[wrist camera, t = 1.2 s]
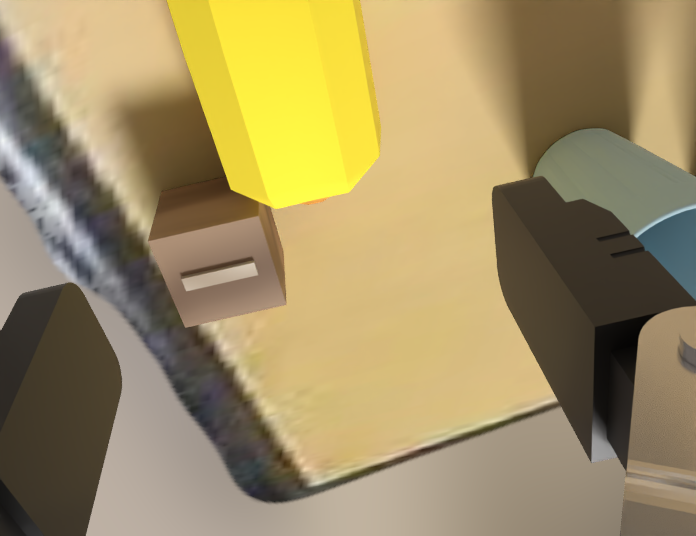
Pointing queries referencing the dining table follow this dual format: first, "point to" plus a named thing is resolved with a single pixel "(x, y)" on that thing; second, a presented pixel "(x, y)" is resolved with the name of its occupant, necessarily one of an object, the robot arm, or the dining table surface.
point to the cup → (630, 193)
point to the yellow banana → (283, 93)
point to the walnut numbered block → (217, 252)
